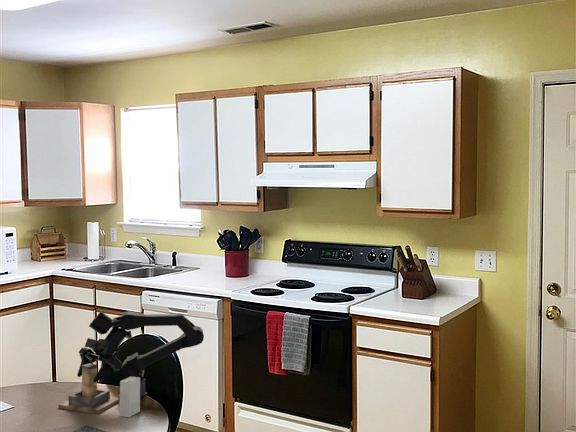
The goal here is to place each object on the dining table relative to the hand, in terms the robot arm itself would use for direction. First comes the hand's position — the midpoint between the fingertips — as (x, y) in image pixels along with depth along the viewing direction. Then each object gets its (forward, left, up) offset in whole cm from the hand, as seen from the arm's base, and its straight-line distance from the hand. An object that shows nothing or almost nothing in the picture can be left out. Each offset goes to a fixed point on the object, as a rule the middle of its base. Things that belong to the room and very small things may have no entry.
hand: (85, 379), depth 228 cm
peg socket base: (0, -1, -9) cm, 10 cm away
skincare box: (-18, +2, -10) cm, 21 cm away
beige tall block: (-1, -1, -8) cm, 8 cm away
